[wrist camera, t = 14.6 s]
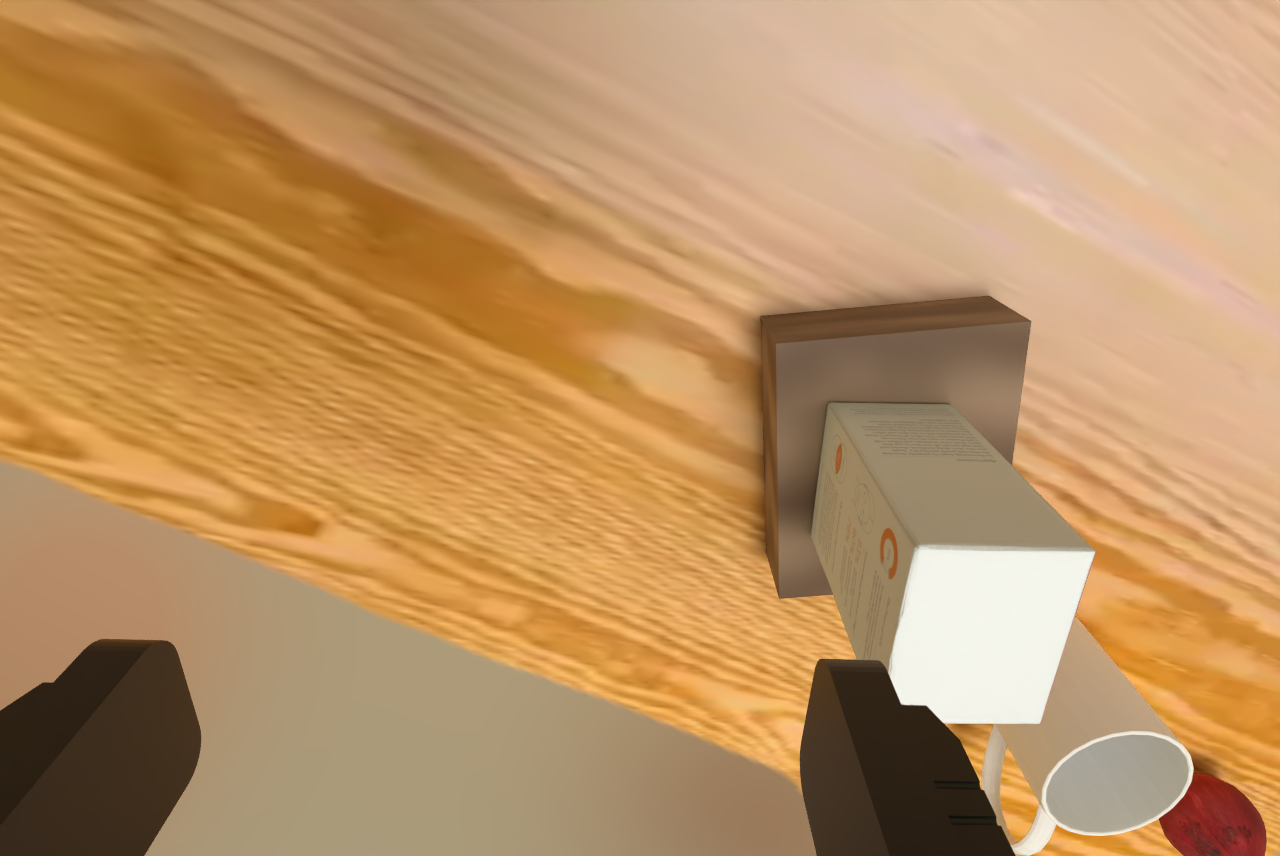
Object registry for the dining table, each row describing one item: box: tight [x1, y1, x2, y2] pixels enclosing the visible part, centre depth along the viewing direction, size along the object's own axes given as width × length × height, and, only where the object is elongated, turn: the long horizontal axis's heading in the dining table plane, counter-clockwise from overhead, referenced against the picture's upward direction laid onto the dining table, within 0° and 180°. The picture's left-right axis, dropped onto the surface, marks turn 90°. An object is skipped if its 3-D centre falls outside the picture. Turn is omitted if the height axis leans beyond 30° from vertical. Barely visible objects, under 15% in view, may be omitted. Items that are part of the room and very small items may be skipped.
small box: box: [811, 402, 1096, 724], centre depth 33 cm, size 8×6×13 cm
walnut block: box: [761, 296, 1031, 599], centre depth 41 cm, size 15×12×5 cm
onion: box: [1159, 773, 1266, 856], centre depth 51 cm, size 6×6×8 cm
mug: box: [981, 617, 1194, 856], centre depth 45 cm, size 12×8×10 cm, turn 153°
